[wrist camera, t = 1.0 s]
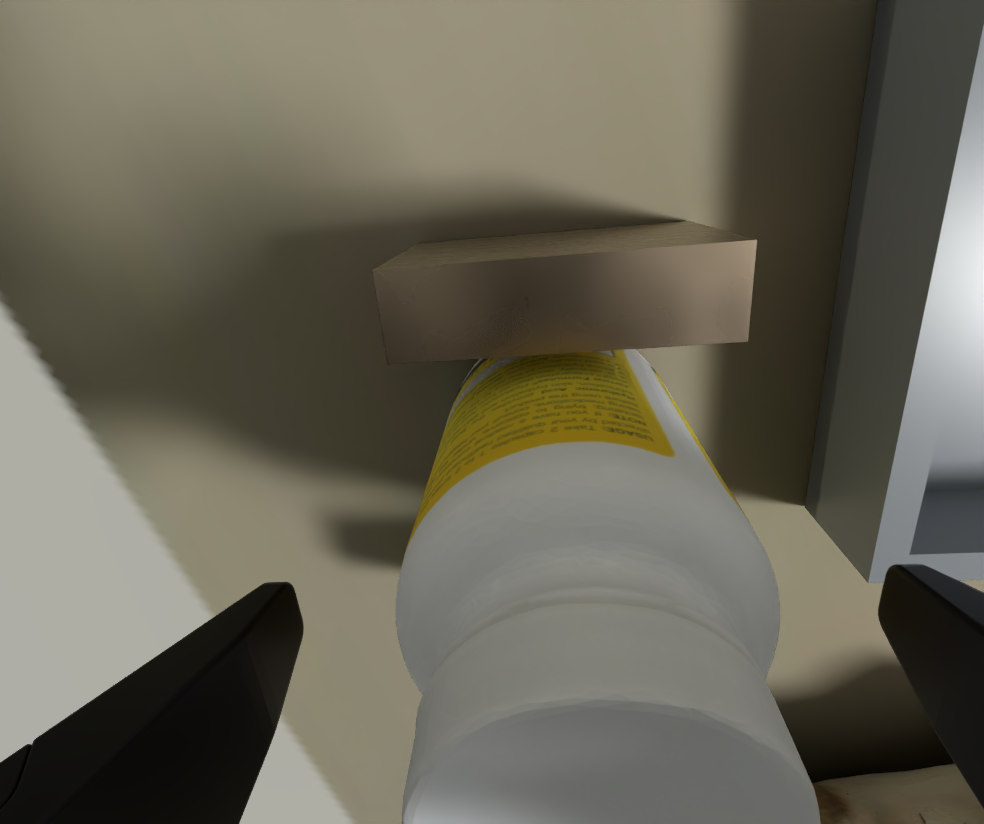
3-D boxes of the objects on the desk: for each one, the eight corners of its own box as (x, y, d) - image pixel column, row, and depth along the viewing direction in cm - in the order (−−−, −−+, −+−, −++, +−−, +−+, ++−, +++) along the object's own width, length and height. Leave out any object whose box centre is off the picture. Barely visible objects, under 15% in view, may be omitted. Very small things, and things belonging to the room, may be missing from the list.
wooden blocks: (672, 572, 16) (716, 693, 12) (460, 579, 16) (441, 695, 13) (688, 220, 12) (757, 239, 9) (417, 243, 13) (372, 270, 9)
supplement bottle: (411, 437, 15) (224, 849, 6) (545, 271, 13) (583, 493, 4) (568, 549, 16) (621, 1048, 7) (714, 412, 14) (1053, 843, 5)
